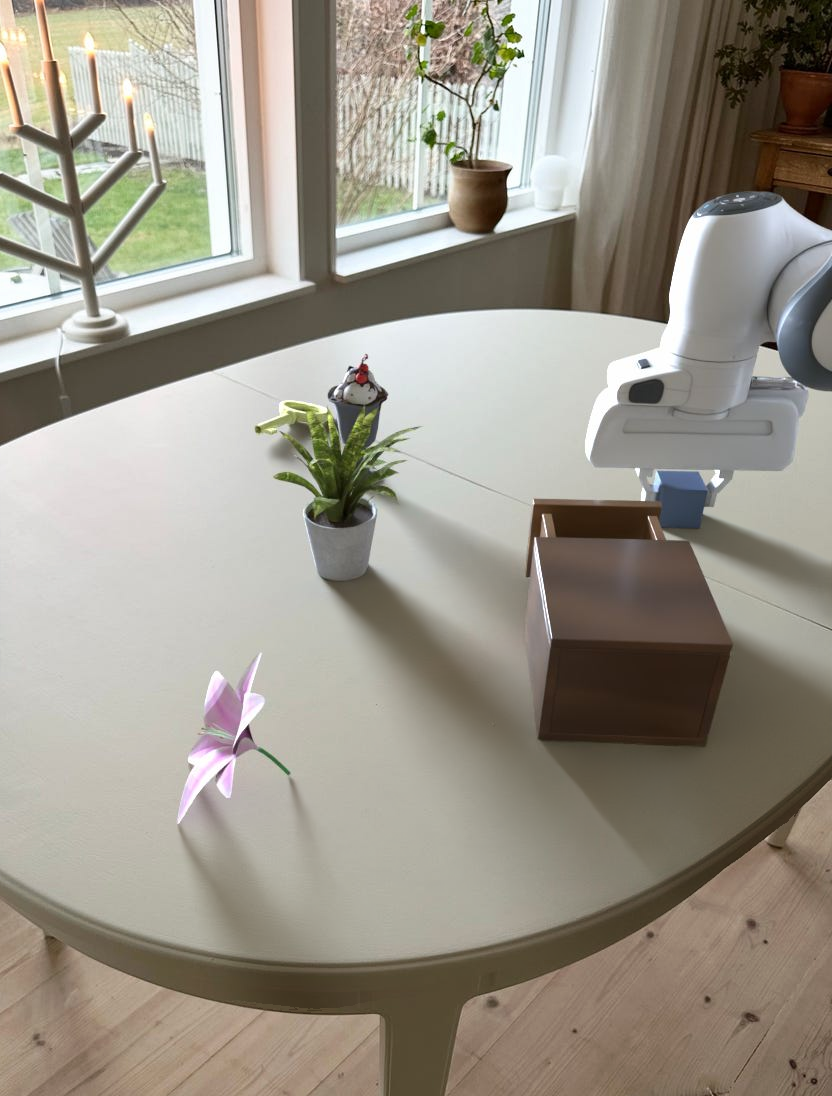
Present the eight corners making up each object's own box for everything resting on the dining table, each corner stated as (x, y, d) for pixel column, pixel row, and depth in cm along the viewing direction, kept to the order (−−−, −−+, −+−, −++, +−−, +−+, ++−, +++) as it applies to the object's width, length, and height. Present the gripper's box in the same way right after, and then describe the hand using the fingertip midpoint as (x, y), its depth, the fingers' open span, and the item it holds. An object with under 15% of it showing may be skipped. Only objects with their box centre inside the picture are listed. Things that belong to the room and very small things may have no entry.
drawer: (521, 547, 95) (528, 475, 90) (637, 550, 94) (651, 478, 90) (536, 655, 80) (546, 576, 76) (674, 659, 80) (692, 580, 75)
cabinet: (524, 630, 85) (534, 536, 79) (668, 635, 84) (689, 540, 78) (537, 740, 73) (551, 639, 67) (705, 746, 72) (733, 644, 67)
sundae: (371, 495, 106) (370, 363, 98) (319, 483, 109) (314, 353, 100) (398, 472, 111) (400, 344, 102) (347, 460, 114) (345, 335, 105)
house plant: (405, 621, 86) (409, 454, 77) (257, 607, 88) (243, 443, 79) (424, 543, 98) (429, 389, 88) (292, 532, 100) (284, 381, 90)
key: (253, 443, 118) (251, 426, 117) (285, 406, 128) (284, 390, 126) (308, 449, 116) (307, 432, 115) (336, 411, 126) (336, 395, 125)
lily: (236, 716, 77) (165, 646, 71) (359, 706, 71) (292, 627, 65) (185, 852, 71) (101, 786, 65) (315, 853, 64) (236, 781, 58)
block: (690, 508, 103) (698, 471, 100) (699, 528, 99) (708, 490, 97) (649, 507, 103) (656, 470, 101) (656, 527, 100) (664, 489, 97)
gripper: (803, 365, 94) (769, 492, 102) (593, 363, 95) (575, 488, 103) (824, 389, 89) (786, 520, 97) (601, 386, 90) (583, 516, 98)
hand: (676, 504), depth 100 cm, fingers closed on block, 4 cm apart
